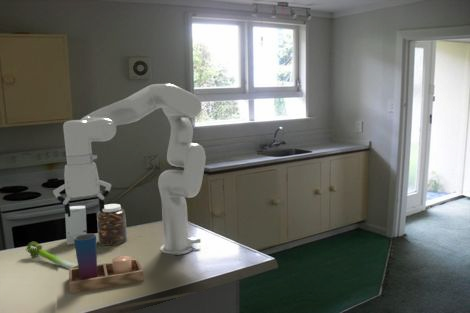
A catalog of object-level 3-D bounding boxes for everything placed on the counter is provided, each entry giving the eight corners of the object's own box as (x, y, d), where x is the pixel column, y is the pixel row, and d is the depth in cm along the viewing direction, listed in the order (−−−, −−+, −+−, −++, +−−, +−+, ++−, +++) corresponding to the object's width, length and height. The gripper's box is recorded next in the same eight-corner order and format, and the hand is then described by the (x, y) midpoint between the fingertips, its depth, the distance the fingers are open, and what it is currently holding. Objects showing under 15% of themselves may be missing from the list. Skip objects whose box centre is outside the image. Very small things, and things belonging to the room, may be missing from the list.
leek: (67, 280, 149) (20, 256, 166) (85, 275, 155) (38, 253, 172) (69, 262, 149) (22, 240, 166) (86, 259, 155) (39, 238, 172)
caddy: (137, 269, 152) (137, 258, 151) (143, 282, 140) (142, 271, 140) (70, 280, 144) (69, 268, 143) (70, 295, 133) (69, 283, 132)
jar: (133, 240, 183) (130, 205, 181) (108, 247, 174) (106, 211, 172) (116, 234, 191) (114, 201, 189) (92, 242, 182) (90, 207, 180)
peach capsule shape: (130, 271, 148) (129, 254, 147) (133, 278, 142) (132, 260, 141) (112, 274, 146) (111, 257, 145) (114, 281, 140) (113, 263, 139)
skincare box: (67, 245, 179) (64, 210, 177) (66, 240, 185) (63, 206, 182) (88, 242, 182) (85, 207, 180) (87, 237, 188) (84, 204, 186)
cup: (93, 286, 136) (89, 240, 135) (73, 285, 138) (69, 239, 136) (104, 277, 143) (100, 233, 141) (85, 277, 144) (81, 233, 143)
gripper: (107, 155, 141) (112, 206, 144) (50, 161, 135) (56, 214, 138) (109, 159, 134) (114, 212, 137) (49, 165, 128) (55, 220, 131)
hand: (85, 213), depth 137 cm, fingers open, 9 cm apart
